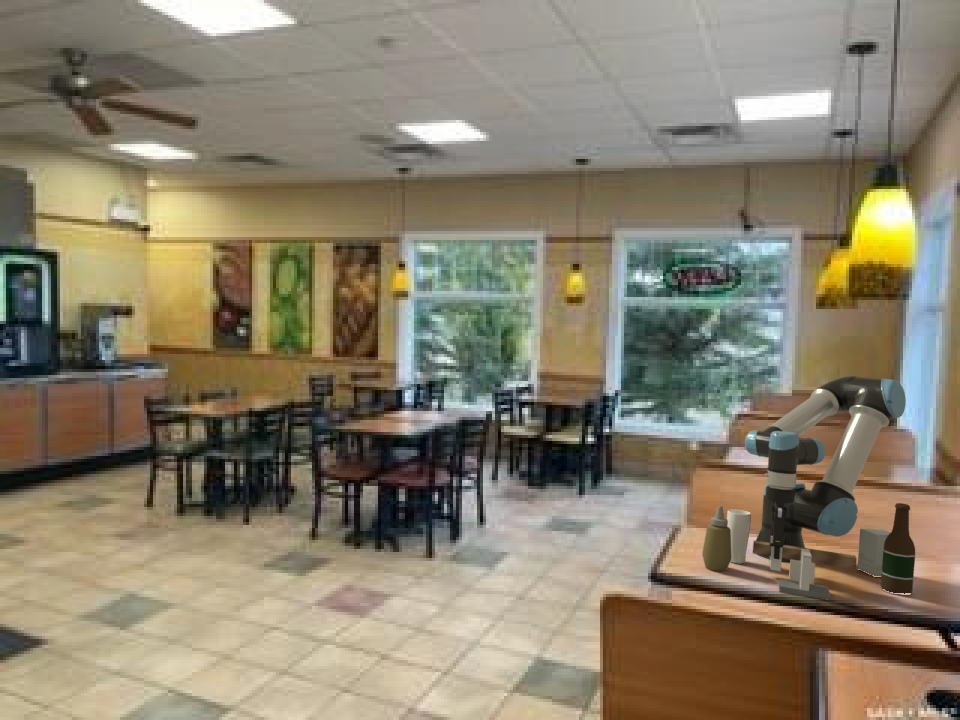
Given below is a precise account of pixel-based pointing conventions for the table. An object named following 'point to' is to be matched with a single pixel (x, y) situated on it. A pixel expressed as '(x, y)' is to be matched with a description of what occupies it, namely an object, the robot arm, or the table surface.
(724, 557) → the squeeze bottle
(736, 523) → the drinking glass
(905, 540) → the beer bottle
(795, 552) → the walnut bar
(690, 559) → the table surface
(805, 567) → the ridge stand
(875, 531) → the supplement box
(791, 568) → the block
